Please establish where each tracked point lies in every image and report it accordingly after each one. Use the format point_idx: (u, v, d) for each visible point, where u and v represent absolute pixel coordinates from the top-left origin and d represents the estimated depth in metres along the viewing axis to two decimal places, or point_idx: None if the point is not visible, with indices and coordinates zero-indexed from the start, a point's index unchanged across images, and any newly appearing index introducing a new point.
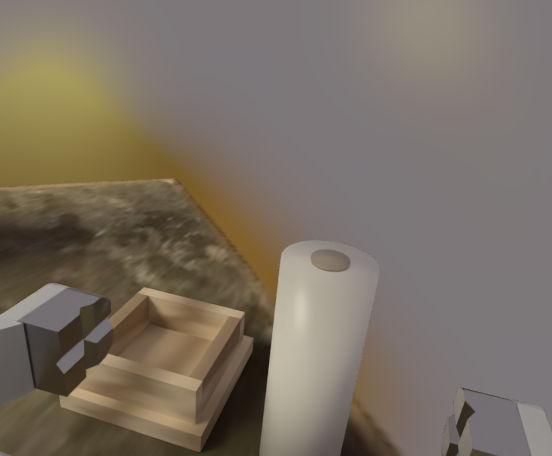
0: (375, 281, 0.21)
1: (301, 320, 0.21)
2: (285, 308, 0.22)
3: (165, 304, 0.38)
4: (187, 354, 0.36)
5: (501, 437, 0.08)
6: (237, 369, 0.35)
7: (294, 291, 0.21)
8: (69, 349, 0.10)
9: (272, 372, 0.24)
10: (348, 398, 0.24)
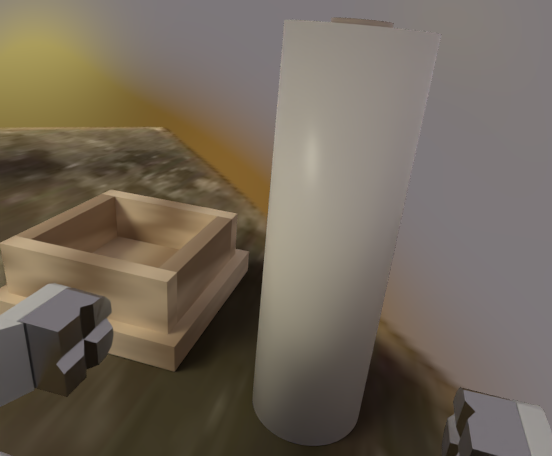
0: (437, 36, 0.13)
1: (318, 101, 0.13)
2: (291, 93, 0.14)
3: (136, 206, 0.30)
4: None
5: (501, 436, 0.08)
6: (227, 281, 0.27)
7: (307, 50, 0.13)
8: (69, 349, 0.10)
9: (272, 219, 0.16)
10: (388, 256, 0.16)
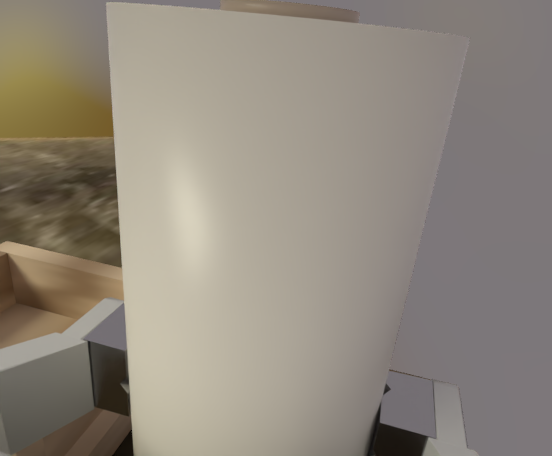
0: (462, 44, 0.05)
1: (167, 204, 0.05)
2: (122, 173, 0.06)
3: (35, 267, 0.22)
4: None
5: (410, 411, 0.08)
6: None
7: (132, 80, 0.05)
8: None
9: (130, 399, 0.08)
10: None
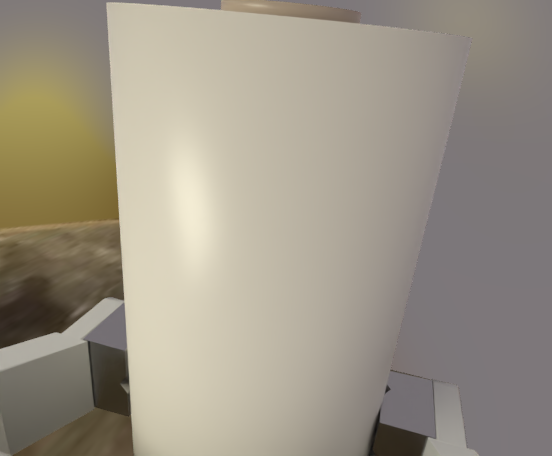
0: (464, 44, 0.05)
1: (167, 205, 0.05)
2: (122, 173, 0.06)
3: None
4: None
5: (410, 411, 0.08)
6: None
7: (133, 81, 0.05)
8: None
9: (130, 400, 0.08)
10: None
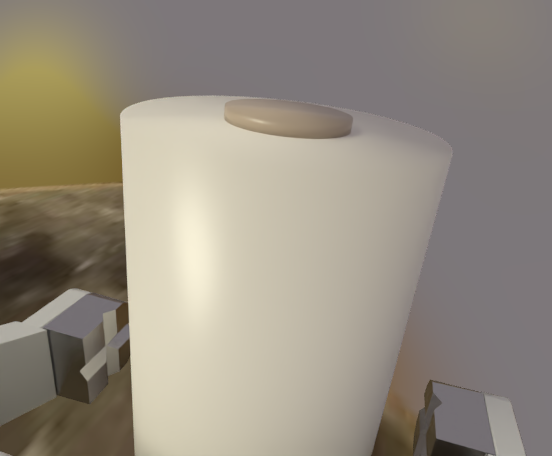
0: (444, 166, 0.06)
1: (174, 307, 0.06)
2: (132, 268, 0.07)
3: None
4: None
5: (466, 427, 0.08)
6: None
7: (144, 198, 0.06)
8: (92, 356, 0.09)
9: None
10: None
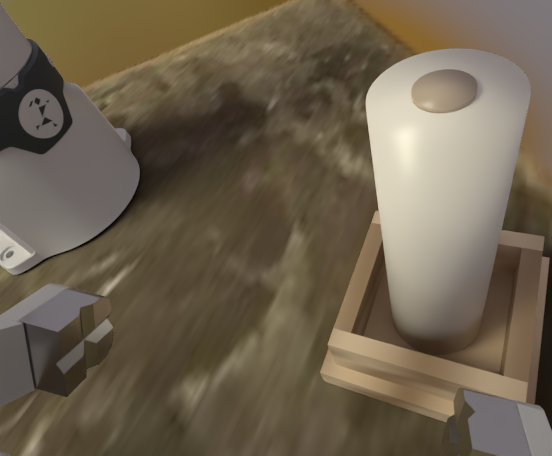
0: (521, 116, 0.13)
1: (406, 189, 0.15)
2: (382, 173, 0.16)
3: None
4: None
5: (501, 436, 0.08)
6: None
7: (389, 154, 0.14)
8: (69, 349, 0.10)
9: (384, 237, 0.20)
10: (490, 257, 0.19)
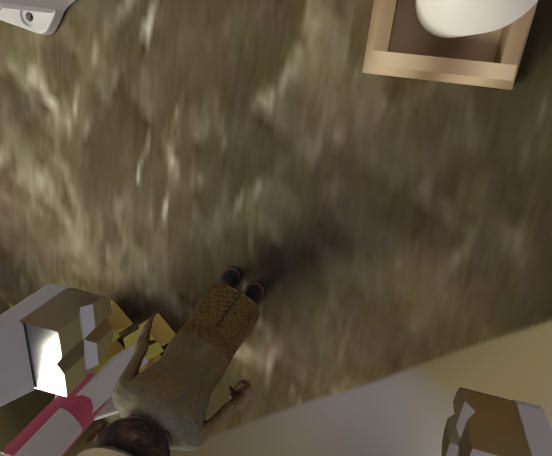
0: None
1: (447, 30, 0.20)
2: (428, 15, 0.20)
3: None
4: None
5: (501, 436, 0.08)
6: None
7: (438, 22, 0.19)
8: (69, 349, 0.10)
9: (421, 12, 0.24)
10: None
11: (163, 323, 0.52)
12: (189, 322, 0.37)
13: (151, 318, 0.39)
